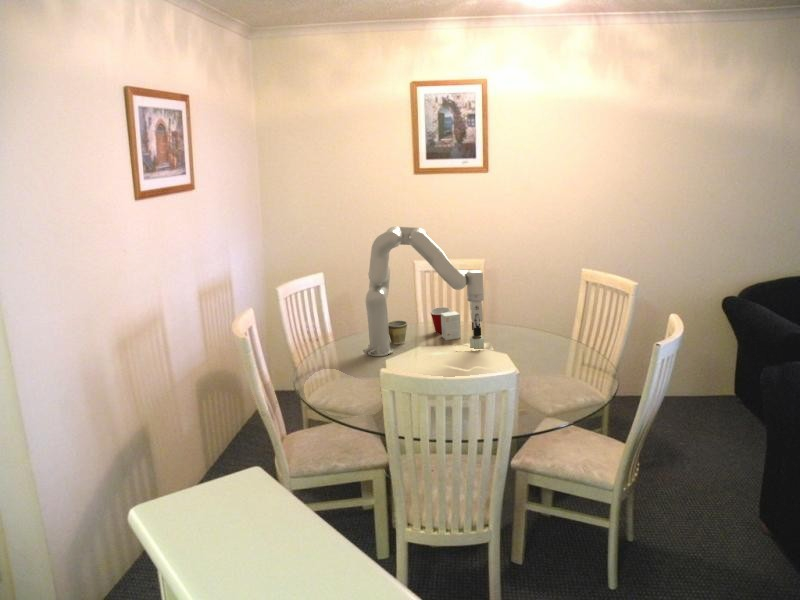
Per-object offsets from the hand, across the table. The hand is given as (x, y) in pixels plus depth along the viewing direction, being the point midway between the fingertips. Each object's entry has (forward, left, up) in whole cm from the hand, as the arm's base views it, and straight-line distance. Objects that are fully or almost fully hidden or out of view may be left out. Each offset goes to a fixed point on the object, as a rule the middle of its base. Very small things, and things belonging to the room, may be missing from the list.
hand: (476, 332), depth 302 cm
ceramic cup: (-10, +40, -8) cm, 42 cm away
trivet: (0, +2, -8) cm, 8 cm away
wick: (0, 0, -7) cm, 7 cm away
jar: (0, 0, -7) cm, 7 cm away
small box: (+7, +20, -8) cm, 23 cm away
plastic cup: (+13, +31, -8) cm, 35 cm away
